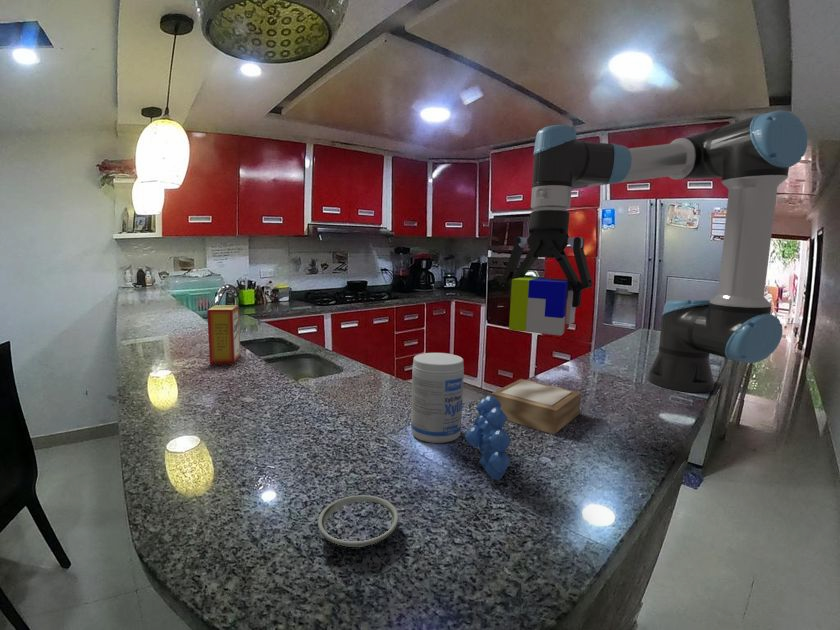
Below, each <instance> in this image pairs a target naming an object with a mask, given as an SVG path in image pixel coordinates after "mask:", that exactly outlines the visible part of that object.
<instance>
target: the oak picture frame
mask: <svg viewBox="0 0 840 630" xmlns="http://www.w3.org/2000/svg"><path fill="white" fill-rule="evenodd" d="M490 395H492V396H494V397H495V398H496V399H497V400H498V401H499V403H500V404H501V408H500V409H501V410H502V411H503V412H504V413H505V415H506V416H507V420H506V422H507V421H508V422H511V423H515V424H517V425H520V426H521V425H522V426H525V427H528V428H531V429H535V430H537V431H541V432H544V433H547V434H551V435H555V434H557V433H558V432H559V431H560V430H561V429H562V428H564V427H565V426H567V425H568V424H569V423H570V422H571V421H573V420H574V419H575V418H576V417H577V416H579V415H580V410H581V409H580V407H581V400H582V398H581V396H582V392H580V391H576V390H571V389H566V388H562V387H559V386H554V385H549V384H545V383H541V382H535V381H533V380H528V379H523V378H519V379H518V380H516V381H514V382H512V383H509V384H508V385H505V386H504V387H501V388H499V389H497V390H495V391H493V392H491V393H490Z"/></svg>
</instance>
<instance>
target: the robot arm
mask: <svg viewBox="0 0 840 630" xmlns="http://www.w3.org/2000/svg"><path fill="white" fill-rule="evenodd" d="M807 147H808V134H807V130H806V127H805V125H804V123H803V122H802V121H801V119H800V117H798V115H796V114H794V113H793V112H791V111H788V110H775V111H771V112H767V113H766V112H765V113H760V114H759V113H758V114H757V115H755V116H751V117H748V118H745V119H742V120H739V121H735V122H731V123H729V124H725V125H721V126H718V127H714V128H712V129H709V130H707V131H703V132H700V133H697V134H695V135H691V136H690V135H689V136H687V137H679V138H675V139H674V140H672V141H671V142H670V143H665V144H657V145H656V144H655V145H647V146H640V147H631V148H629V147H627V146H625V145H619V144H616V143H613V142H612V143H606V142H604V143H603V142H595V141H594V142H591V141H583V140H577V130H576V128H575V127H573V126H571V125H566V124H554V125H547V126H545V127H542V128H541V129H539V130H538V132H537V133H536V136H535V140H534V149H533V165H532V166H533V170H532V183H531V184H532V185H531V186H532V188H531V199H530V208H531V209H532V211H531V212H530V213H529V227H528V228H529V229H528V230H529V233H528V235H527V237H524V236H515V237H514V238H513V246H512V247H513V248H512V251H511V254H510V256H509V259H508V260H507V261H508V262H507V263H506V267H505V269H504V271H503V274H502V276H501V281H502V282H503V283H507V284H508V285H509V294H508V295H509V300H510V301H511V287H512V279H516V278H521V277H526V274H527V273H528V272H529V270H530V269H531V268H532V266H533V264H534V263H535V262H536V260H538V258H547V259H555V261H556V262H557V263H558V265H559V267H560V268H561V270H562V272H563V274H564V276H565V279H567V280H568V281H569V283H570V285H571V287H572V289H571V290H570V291H568V300H567V312H566V324H569V325H572V324H574V323H575V319H576V308H580V306H581V304H582V303H581V302H582V294H583V290H585V289H590V288H592V287H593V280H592V277H591V272H590V269H589V265H588V261H587V258H586V254H585V251H584V248H585V238H584V237H580V236H576V237H570V236H569V226H570V213H569V211H568V210H569V209H570V208H571V200H572V190H574V189H583V188H589V187H591V188H592V187H597V186H604V185H614V184H615V185H617V184H620V183H628V182H629V183H630V182H634V181H635V182H636V181H643V180H650V179H659V178H667V177H668V178H670V179H672V180H674V181H675V180H684V179H685V180H686V179H718V178H721V184H722V185H723V186H725V187H726V189H727V190H728V193H727V194H728V195H727V204H726V214H725V222H724V223H725V224H724V233H723V242H722V243H723V244H722V251H721V261H720V270H719V280H718V292H717V294H716V295H715V296H714V297H712V299H670V300H668V301H665V303H664V306H663V311H662V313H661V323H660V334H659V342H658V344H659V346H658V353H657V354H656V356H655V359H654V361H653V362H652V364H651V366H650V368H649V370H648V376H647V378H648V379H647V380H648V381H649V382H650V383H652V384H654V385H656V386H659V387H661V388H665V389H669V390H674V391H680V392H686V393H687V392H688V393H701V394H702V393H709V392H711V391H713V390H714V386H715V385H714V384H715V381H714V380H715V379H714V375H713V371H712V368H711V362H710V355H713V356H718V357H722V358H723V359H728V360H729V361H732V362H740V363H746V364H756V363H759V362H762V361H765V360H766V359H767V358H769V357H770V355H771V354H773V353H774V352H775V351H776V349H777V348H778V346H779V345H780V342H781V341H782V337H783V331H784V330H783V324H782V323H781V321H780V319H779V318H778V317H776V316H775V315H773V314H771V311H772V303H771V302H770V301H769V300H768V299H766V297H765V291H766V290H765V289H766V282H767V275H768V267H769V266H768V265H769V260H770V259H769V258H770V251H771V241H772V233H773V225H774V219H775V218H774V217H775V211H776V210H775V209H776V201H777V195H778V194H777V193H778V187H779V186H780V185H781V184H782V183H783V182H785V181H786V180H788V178H789V169H790V168H791V167H793V166H795V165H797V164H798V163H799V162H800V161H801V160H802V157H804V156H805V154H806V152H807ZM527 245H528V246H529V248H530V249H529V250H528V252H527V253H526V255H525V258H524V259H523V261H522V262H521V263H520V265H519V262H520V260H521V257H522V254H523V252H524V249H525V248H526V246H527ZM568 245H570V248H571V249H572V252H573V257H574V260H575V264H576V267H577V272H578V275H579V277H578V275H577V273H576V270H574V267H573V266H572V264H571V261H570V260H569V257H568V255H567V253H566V251H565V249H566V247H567V246H568ZM518 266H519V267H518ZM517 267H518V268H517Z"/></svg>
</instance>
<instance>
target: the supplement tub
mask: <svg viewBox="0 0 840 630" xmlns="http://www.w3.org/2000/svg"><path fill="white" fill-rule="evenodd" d="M411 369H412V375H411V377H412V378H411V410H410V411H411V415H410V418H411V419H410V430H411V434H412V435H413V436H414V438H417V440H419V441H422V442H425V443H431V444H444V443H450V442H453V441H455V440H457V439H458V438H459V437H460V435H461V434H462V421H463V420H462V419H463V418H462V417H463V400H464V399H463V398H464V395H463V393H464V380H465V379H464V376H465V375H464V373H465V370H464V369H465V366H464V358H462V357H461V356H459V355H456V354H452V353H447V352H425V353H419V354H416V355H415V356H414V357H413V363H412V368H411Z"/></svg>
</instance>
